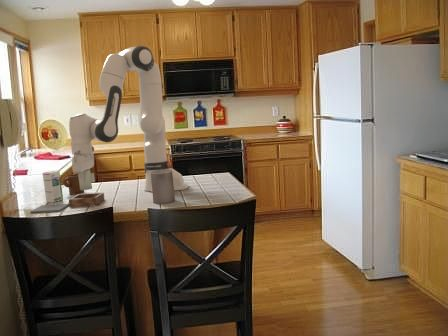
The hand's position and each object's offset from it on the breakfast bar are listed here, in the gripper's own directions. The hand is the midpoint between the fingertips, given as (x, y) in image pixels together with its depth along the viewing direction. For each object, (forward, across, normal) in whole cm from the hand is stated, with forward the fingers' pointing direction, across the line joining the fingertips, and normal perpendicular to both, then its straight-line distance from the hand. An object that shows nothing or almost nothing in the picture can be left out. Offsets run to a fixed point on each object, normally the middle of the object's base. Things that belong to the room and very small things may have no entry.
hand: (85, 179), depth 227 cm
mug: (+11, +26, +16) cm, 33 cm away
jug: (+4, 0, 0) cm, 4 cm away
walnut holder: (+11, 0, 0) cm, 11 cm away
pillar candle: (+11, -6, -36) cm, 39 cm away
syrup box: (+11, +10, +20) cm, 25 cm away
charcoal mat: (+11, -8, +14) cm, 20 cm away
